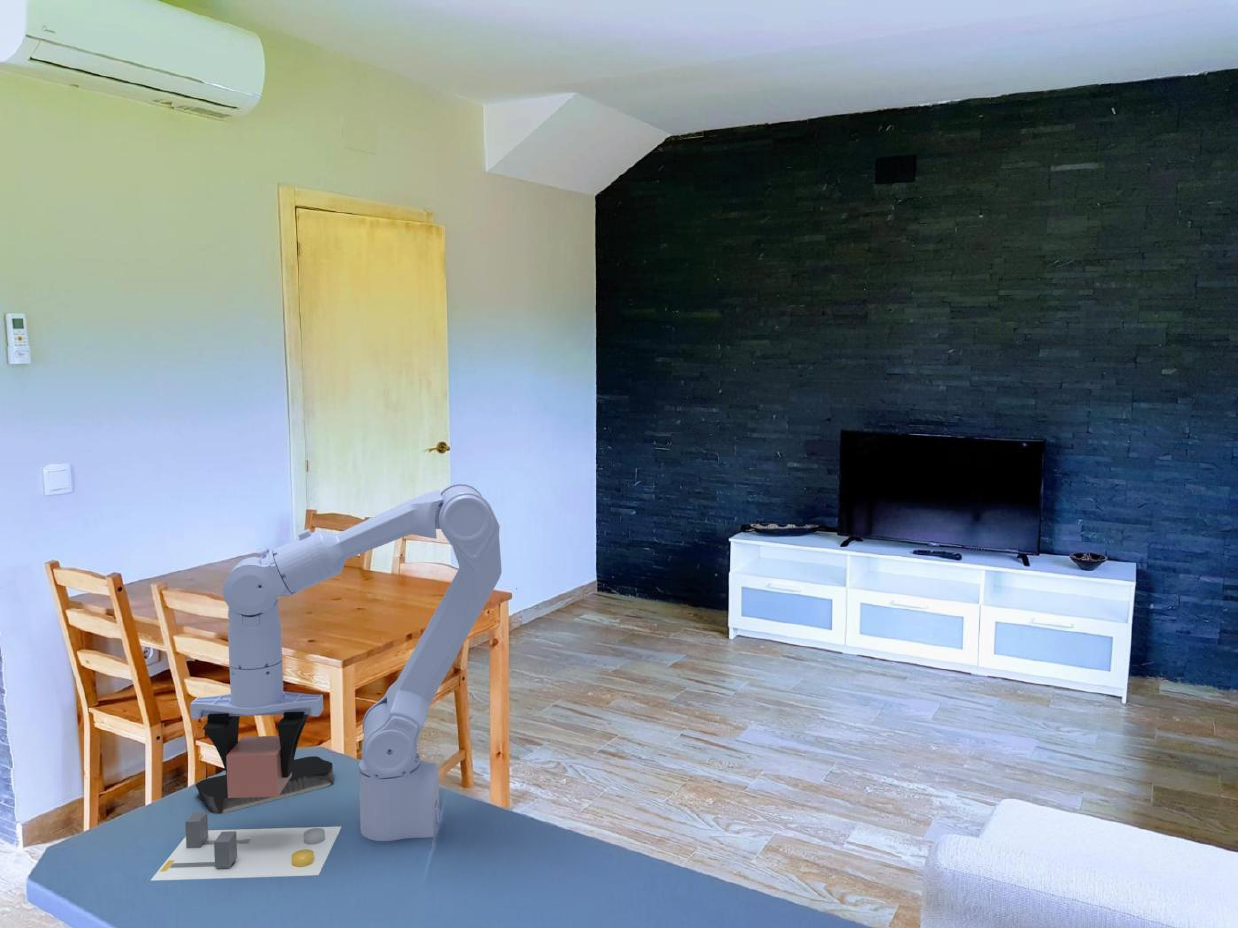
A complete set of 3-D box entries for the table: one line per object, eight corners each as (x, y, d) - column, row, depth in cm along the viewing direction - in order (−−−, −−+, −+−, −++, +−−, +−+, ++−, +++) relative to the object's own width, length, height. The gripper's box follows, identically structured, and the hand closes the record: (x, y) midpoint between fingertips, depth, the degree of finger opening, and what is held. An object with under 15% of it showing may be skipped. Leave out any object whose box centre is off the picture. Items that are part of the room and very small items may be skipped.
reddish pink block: (291, 775, 112) (290, 735, 111) (278, 796, 106) (276, 754, 106) (244, 776, 111) (242, 736, 111) (227, 797, 106) (226, 755, 105)
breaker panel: (341, 835, 113) (340, 801, 113) (318, 885, 102) (317, 847, 102) (190, 840, 112) (188, 805, 111) (150, 890, 101) (148, 852, 100)
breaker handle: (237, 856, 105) (236, 831, 105) (229, 867, 103) (228, 841, 103) (222, 856, 105) (221, 831, 105) (215, 867, 103) (214, 842, 103)
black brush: (209, 828, 115) (208, 800, 115) (196, 802, 122) (195, 775, 122) (339, 795, 125) (338, 769, 124) (320, 773, 132) (319, 748, 131)
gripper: (328, 650, 112) (331, 758, 113) (204, 652, 111) (209, 762, 112) (312, 669, 105) (316, 784, 106) (181, 671, 104) (186, 787, 105)
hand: (260, 774), depth 108 cm, fingers closed on reddish pink block, 6 cm apart
